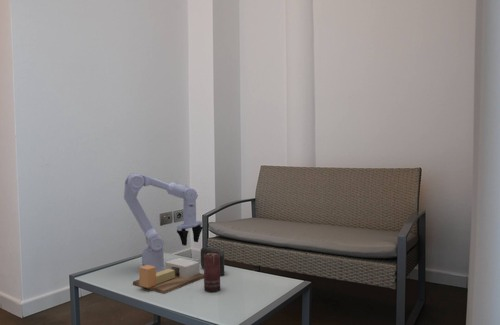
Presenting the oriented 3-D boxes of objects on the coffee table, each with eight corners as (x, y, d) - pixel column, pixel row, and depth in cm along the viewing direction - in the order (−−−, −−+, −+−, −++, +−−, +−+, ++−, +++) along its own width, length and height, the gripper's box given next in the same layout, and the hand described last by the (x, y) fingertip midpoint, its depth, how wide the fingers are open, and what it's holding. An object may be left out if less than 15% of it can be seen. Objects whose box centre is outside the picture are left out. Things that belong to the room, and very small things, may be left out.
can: (208, 293, 151) (207, 256, 150) (201, 288, 156) (201, 252, 156) (223, 290, 153) (222, 254, 153) (216, 285, 159) (216, 250, 158)
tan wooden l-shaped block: (139, 285, 156) (139, 267, 156) (167, 275, 168) (167, 258, 167) (148, 287, 153) (147, 269, 153) (175, 277, 165) (175, 260, 164)
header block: (165, 273, 171) (165, 262, 171) (179, 268, 178) (179, 257, 178) (186, 278, 164) (185, 266, 164) (199, 273, 171) (199, 262, 171)
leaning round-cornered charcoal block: (230, 274, 173) (229, 252, 173) (221, 276, 170) (221, 254, 170) (208, 266, 186) (208, 245, 185) (200, 268, 183) (199, 247, 182)
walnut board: (132, 284, 161) (132, 281, 161) (175, 269, 180) (175, 267, 180) (163, 293, 151) (163, 290, 151) (205, 277, 170) (205, 274, 169)
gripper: (184, 217, 179) (185, 247, 179) (206, 212, 190) (207, 241, 191) (173, 215, 183) (174, 245, 183) (195, 211, 194) (196, 239, 195)
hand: (190, 243), depth 187 cm, fingers open, 7 cm apart
